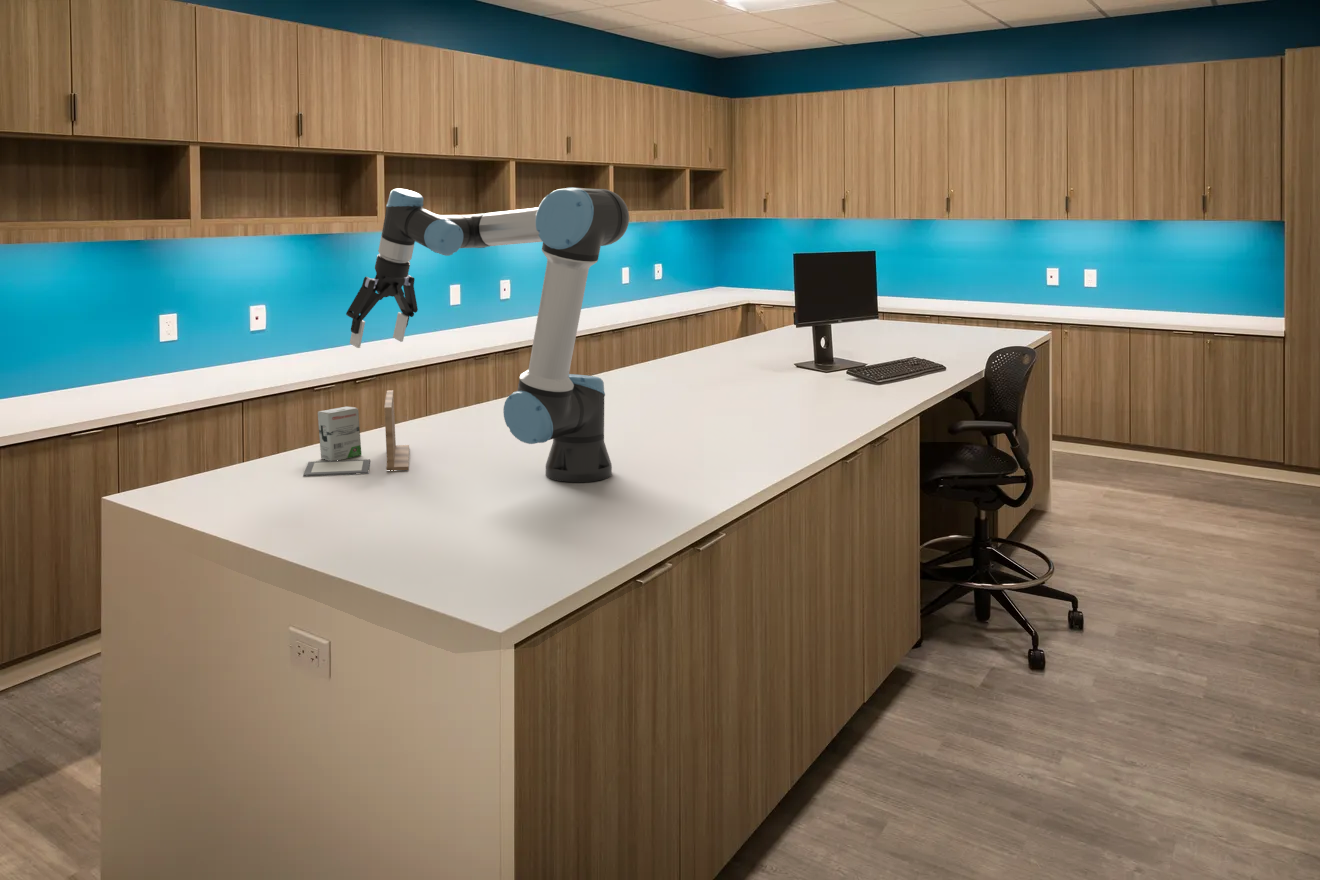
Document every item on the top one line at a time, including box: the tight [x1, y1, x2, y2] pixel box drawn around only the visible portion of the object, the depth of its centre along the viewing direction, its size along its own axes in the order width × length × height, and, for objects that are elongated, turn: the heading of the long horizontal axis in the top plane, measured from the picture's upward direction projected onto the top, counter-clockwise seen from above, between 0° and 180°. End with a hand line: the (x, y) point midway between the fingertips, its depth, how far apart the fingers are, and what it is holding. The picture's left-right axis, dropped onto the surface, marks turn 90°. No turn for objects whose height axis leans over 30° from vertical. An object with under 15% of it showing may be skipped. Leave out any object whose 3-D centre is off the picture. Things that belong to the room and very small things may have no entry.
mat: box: [303, 458, 371, 477], centre depth 241 cm, size 12×14×1 cm
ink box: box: [317, 406, 362, 461], centre depth 250 cm, size 9×5×12 cm, turn 141°
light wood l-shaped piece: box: [383, 389, 410, 472], centre depth 248 cm, size 22×5×15 cm, turn 13°
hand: (376, 342), depth 246 cm, fingers open, 13 cm apart
